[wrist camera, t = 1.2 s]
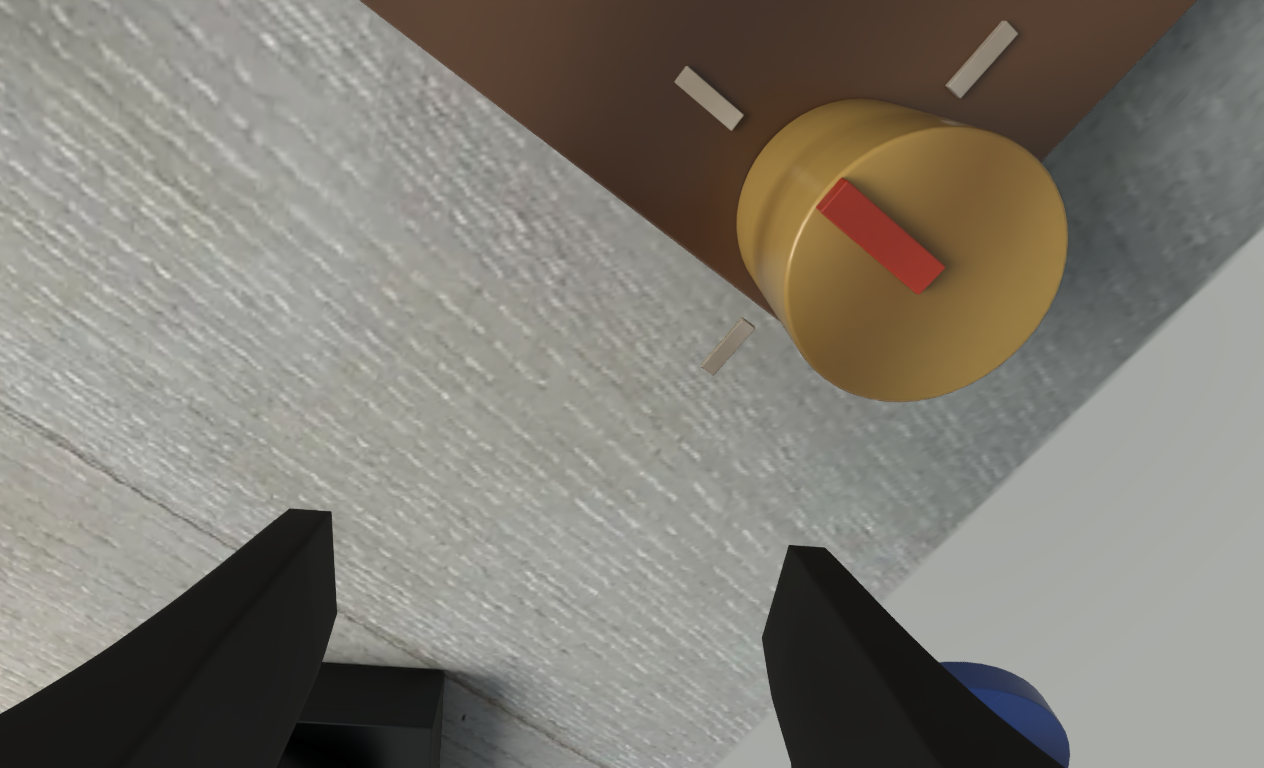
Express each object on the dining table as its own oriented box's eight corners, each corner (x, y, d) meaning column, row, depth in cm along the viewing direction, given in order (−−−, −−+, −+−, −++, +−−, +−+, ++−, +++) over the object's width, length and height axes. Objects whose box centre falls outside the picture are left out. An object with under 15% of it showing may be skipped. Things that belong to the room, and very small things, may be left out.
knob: (996, 192, 15) (1142, 255, 11) (843, 353, 16) (923, 458, 12) (844, 46, 13) (950, 57, 9) (691, 236, 15) (728, 313, 11)
